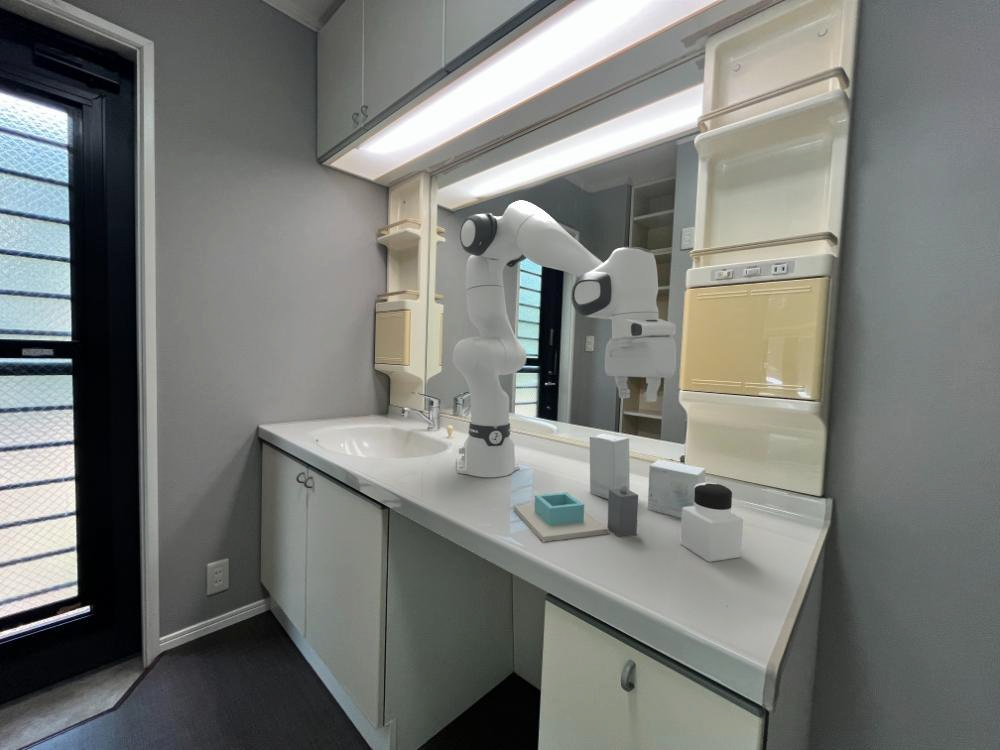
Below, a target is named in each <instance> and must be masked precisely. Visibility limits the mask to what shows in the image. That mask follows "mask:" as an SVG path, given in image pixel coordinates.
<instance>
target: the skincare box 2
mask: <svg viewBox="0 0 1000 750" xmlns="http://www.w3.org/2000/svg"><path fill="white" fill-rule="evenodd" d="M648 474H649V476H648V495H647V498H648V499H647V509H648V510H650V511H653V512H657V513H661V514H665V515H669V516H672V517H677V518H680V519H682V508H683V507H690V506H694V487H695V486H696V485H697V484H700V483H706V482H705V481H706V468H705V467H700V466H694V465H689V464H683V463H679V462H673V461H668V460H663V459H657V460H656V461H653V463H651V464H649V473H648Z"/></svg>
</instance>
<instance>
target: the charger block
mask: <svg viewBox="0 0 1000 750" xmlns="http://www.w3.org/2000/svg"><path fill="white" fill-rule="evenodd" d="M607 503H608V504H607V505H608V506H607V526H606V527H607V528H609V532H611V533H612V534H613V535H615V536H616V537H617V538H626V537H632V536H637V535H638V534H637V533H638V512H639V511H638V510H639V494H637V493H635V492H633V491H632V490H628V489H627V485H626V484H621V486H620V489H613V490H609V500H608V502H607Z"/></svg>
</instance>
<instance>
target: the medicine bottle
mask: <svg viewBox="0 0 1000 750" xmlns="http://www.w3.org/2000/svg"><path fill="white" fill-rule="evenodd" d="M732 499H733V492H732V491H731V489H730V488H729V487H727V486H726V485H722V484H719V483H715V482H714V483H713V482H705V483H700V484H697V485H696V486H695V487H694V506H690V507H683V508H682V518H681V524H680V525H681V526H680V544H681V545H682V546H683V547H684V548H686V549H688V550H689V551H691V552H692V553H694V554H695V555H697V556H699V557H700V558H702V560H703V559H704V561H707V562H708V563H711V562H719V561H725V560H730V559H736V558H737V559H738V558H741V557H742V542H743V525H744V524H743V523H744V519H743V518H742V517H741V516H739V515H736V514H734V513H732V506H733V505H732V503H733V502H732V501H733V500H732Z"/></svg>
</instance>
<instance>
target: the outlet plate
mask: <svg viewBox="0 0 1000 750" xmlns="http://www.w3.org/2000/svg"><path fill="white" fill-rule="evenodd" d="M513 511H514V512H515V513H516V515H517V516H519V518H520V519H521V518H522V519H523V520H522V519H521V520H522V521H523V522H524V523H525V524H526V525H527V527H528V528H530V530H531V529H532V530H533V531H534V532H535V533H536V534H535V533H534V532H533V531H532V530H531V531H532V532H533V533H534V534H535V535H536V536H537V537H538V539H540V541H541V540H542V541H548V542H553V541H552V540H555V541H561V540H571V539H577V538H585V537H592V536H600V535H607V534H609V533H610V530H609V528H607V527H608V526H606V525H605V524H603V523H602V522H601V521H600V520H599V519H597V518H595V517H594V516H593V515H591V514H590V513H589V512H588V511H586V510H585V504H584V503H583V502H581V501H580V500H578V499H577V498H575V497H574V496H573V495H572V494H570V493H568V492H555V493H546V494H535V495H534V503H527V504H519V505H517V504H516V505H513ZM542 541H541V542H542Z"/></svg>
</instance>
